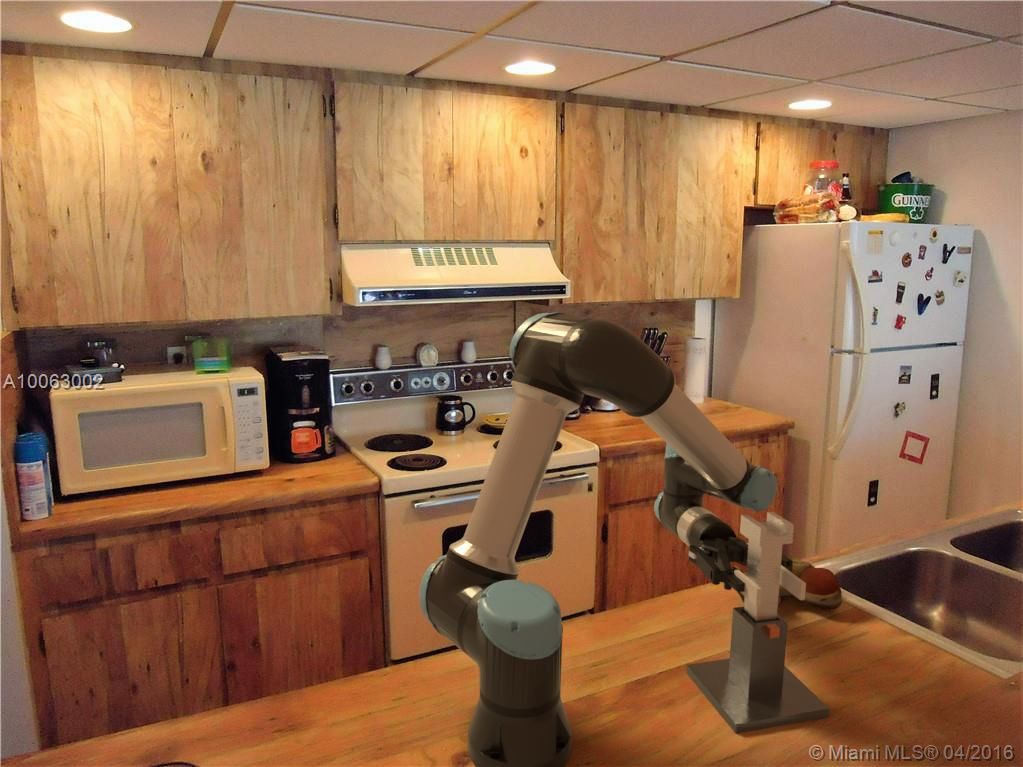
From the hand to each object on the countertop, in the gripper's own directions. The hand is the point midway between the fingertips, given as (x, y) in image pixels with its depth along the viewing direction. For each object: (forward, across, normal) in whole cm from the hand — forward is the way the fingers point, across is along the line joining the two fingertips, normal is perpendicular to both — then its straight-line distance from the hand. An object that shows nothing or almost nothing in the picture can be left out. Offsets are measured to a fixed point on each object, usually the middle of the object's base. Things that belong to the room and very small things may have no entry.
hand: (781, 594), depth 112 cm
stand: (-5, 0, -20) cm, 21 cm away
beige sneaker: (-30, -22, -20) cm, 43 cm away
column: (-5, 0, -18) cm, 19 cm away
